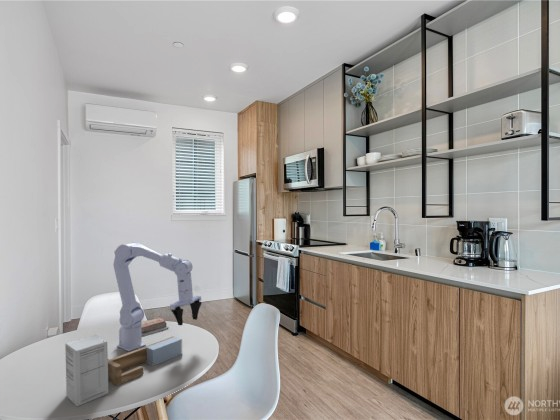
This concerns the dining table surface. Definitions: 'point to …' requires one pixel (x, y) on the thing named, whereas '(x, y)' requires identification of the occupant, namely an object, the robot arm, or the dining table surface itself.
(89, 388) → the supplement box
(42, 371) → the dining table surface
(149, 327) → the reddish brown block
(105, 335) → the dining table surface
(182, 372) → the dining table surface
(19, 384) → the dining table surface
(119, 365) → the brown wooden rack
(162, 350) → the boxed book
